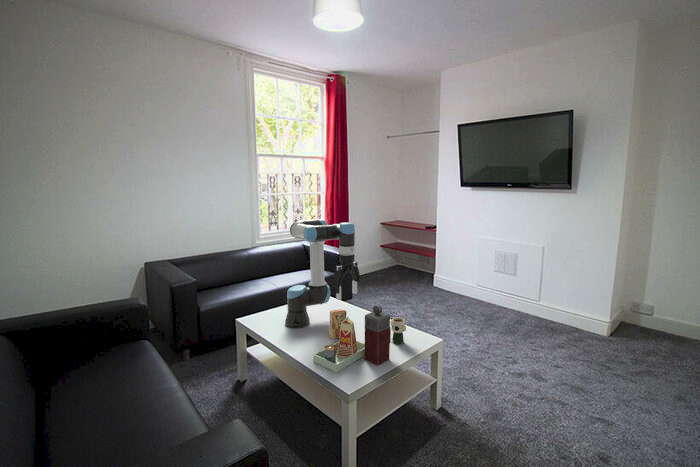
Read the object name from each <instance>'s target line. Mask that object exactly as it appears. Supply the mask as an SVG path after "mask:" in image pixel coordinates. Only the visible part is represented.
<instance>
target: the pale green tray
mask: <svg viewBox="0 0 700 467" xmlns="http://www.w3.org/2000/svg"><path fill="white" fill-rule="evenodd" d="M356 343H357V352H356V353H354V354H353V355H351V356H349V357H347V358H343V357H337V351H338V346H339V341H337V342H334V343H333V344H332V345H335V346H336V364H335V363H333V362H330V361H328V360H326V359H325V349H321V350H320V351H317V352H315V353H314V354H313V357H312V358H313V363H315V364H317V365H319V366H321V367H323V368H325V369H327V370H329V371H330V372H333V373H334V374H338V373H339V372H340V371H342V370H344V369H346V368H347V367H348V366H350V365H352V364H354V363H355V362H357V361H359V360H361V359H362V358H363V357H364V358H365V342H361V341H359V340H356Z"/></svg>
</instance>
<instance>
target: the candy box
mask: <svg viewBox="0 0 700 467" xmlns="http://www.w3.org/2000/svg"><path fill="white" fill-rule="evenodd" d="M346 318H347V310H346V309H344V308H340V309H335V310H329V337H330V338H331V339H332V340H333V339H339V333H340V328H341V324H342V322H343V321H344V320H345V319H346Z"/></svg>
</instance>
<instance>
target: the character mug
mask: <svg viewBox="0 0 700 467" xmlns="http://www.w3.org/2000/svg"><path fill="white" fill-rule="evenodd" d="M390 328H391V332H393V333H392V337H391V338H392V340H391V341H392V342H391V343H394V344H396V345H397V344H402V343H404V342H405V341H404V332H407V326H406V320H405V318H403V317H399V316H397V317H395V316H394V317H393V318H392V319H390Z"/></svg>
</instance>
